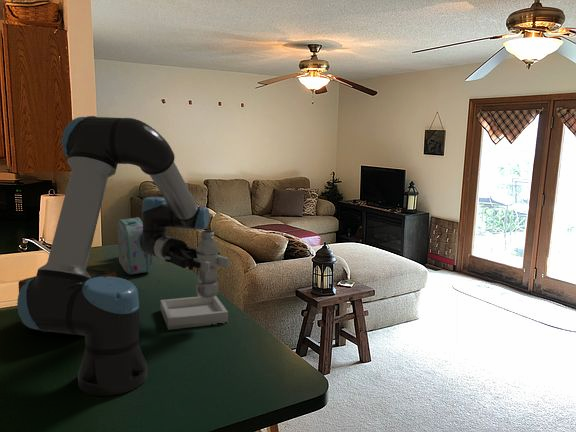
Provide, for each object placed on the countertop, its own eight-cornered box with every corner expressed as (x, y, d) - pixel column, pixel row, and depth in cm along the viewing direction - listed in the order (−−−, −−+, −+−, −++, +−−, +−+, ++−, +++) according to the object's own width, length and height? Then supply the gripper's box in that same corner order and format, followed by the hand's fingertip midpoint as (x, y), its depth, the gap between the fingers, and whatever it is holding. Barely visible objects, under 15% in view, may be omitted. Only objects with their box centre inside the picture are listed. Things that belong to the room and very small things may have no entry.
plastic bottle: (222, 297, 141) (223, 232, 137) (204, 302, 136) (204, 235, 132) (209, 291, 145) (210, 228, 142) (191, 296, 140) (191, 231, 137)
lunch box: (154, 276, 187) (154, 223, 183) (127, 279, 182) (126, 225, 178) (140, 259, 210) (139, 212, 206) (116, 261, 205) (115, 213, 201)
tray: (227, 322, 144) (228, 311, 144) (168, 329, 137) (168, 318, 137) (215, 304, 159) (215, 294, 158) (160, 310, 152) (160, 300, 151)
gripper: (195, 255, 158) (242, 271, 143) (145, 266, 144) (191, 284, 129) (195, 234, 157) (243, 247, 142) (144, 242, 142) (191, 258, 127)
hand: (218, 265), depth 135 cm, fingers closed on plastic bottle, 6 cm apart
